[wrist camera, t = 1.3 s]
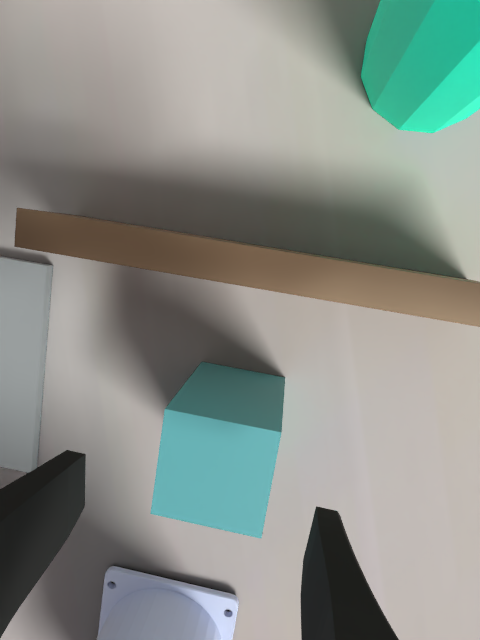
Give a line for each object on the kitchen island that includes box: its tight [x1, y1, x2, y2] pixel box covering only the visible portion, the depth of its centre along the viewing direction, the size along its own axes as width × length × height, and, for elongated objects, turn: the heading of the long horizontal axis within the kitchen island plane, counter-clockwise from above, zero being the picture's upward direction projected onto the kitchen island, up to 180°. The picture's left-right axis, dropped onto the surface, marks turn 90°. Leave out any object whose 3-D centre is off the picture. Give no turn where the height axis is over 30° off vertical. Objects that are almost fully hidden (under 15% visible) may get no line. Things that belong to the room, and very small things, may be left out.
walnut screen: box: [14, 208, 480, 327], centre depth 20 cm, size 2×20×5 cm, turn 81°
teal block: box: [151, 362, 285, 538], centre depth 21 cm, size 4×4×7 cm
